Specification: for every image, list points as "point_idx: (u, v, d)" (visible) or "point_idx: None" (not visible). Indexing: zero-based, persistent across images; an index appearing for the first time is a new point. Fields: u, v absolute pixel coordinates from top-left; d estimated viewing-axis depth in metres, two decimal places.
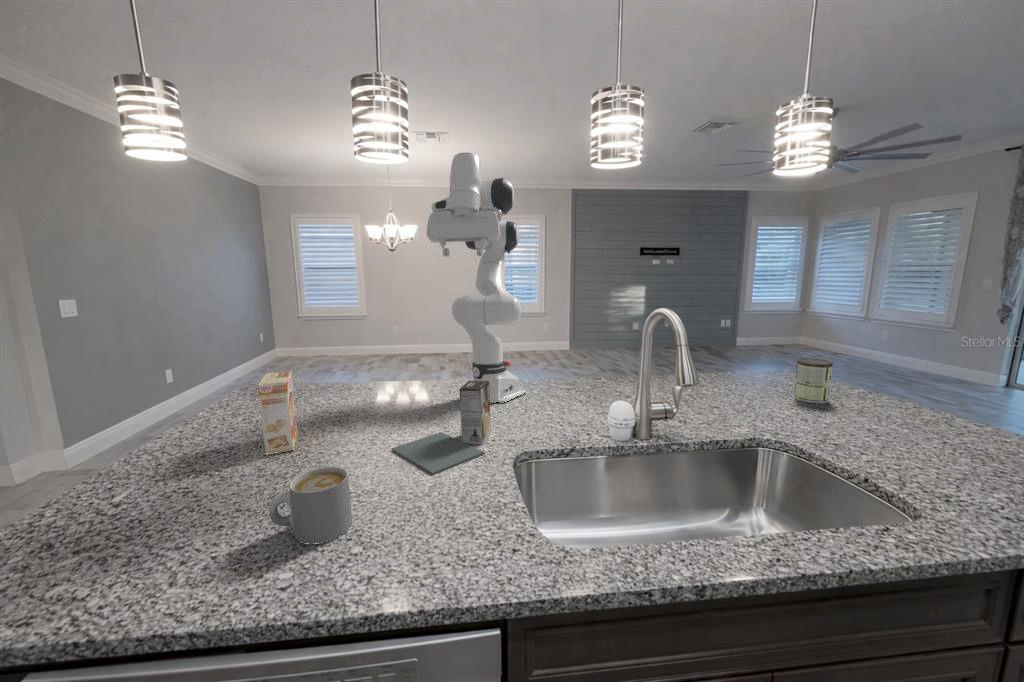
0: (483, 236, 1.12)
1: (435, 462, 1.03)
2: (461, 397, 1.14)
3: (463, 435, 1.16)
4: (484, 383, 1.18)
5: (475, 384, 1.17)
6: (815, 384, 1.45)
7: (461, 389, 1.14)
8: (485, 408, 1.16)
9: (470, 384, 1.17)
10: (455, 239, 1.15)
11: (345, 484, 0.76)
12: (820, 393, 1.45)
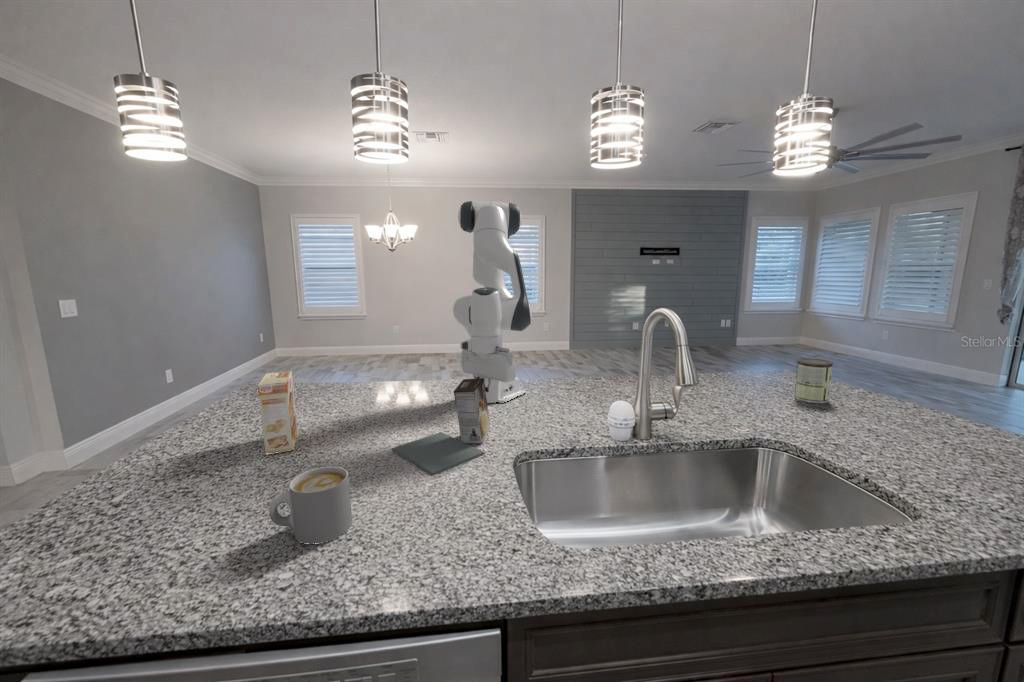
0: (497, 380, 1.15)
1: (435, 462, 1.03)
2: (457, 399, 1.12)
3: (462, 435, 1.16)
4: (478, 382, 1.16)
5: (469, 384, 1.15)
6: (815, 384, 1.45)
7: (455, 391, 1.12)
8: (481, 407, 1.15)
9: (464, 384, 1.15)
10: None
11: (345, 484, 0.76)
12: (820, 393, 1.45)
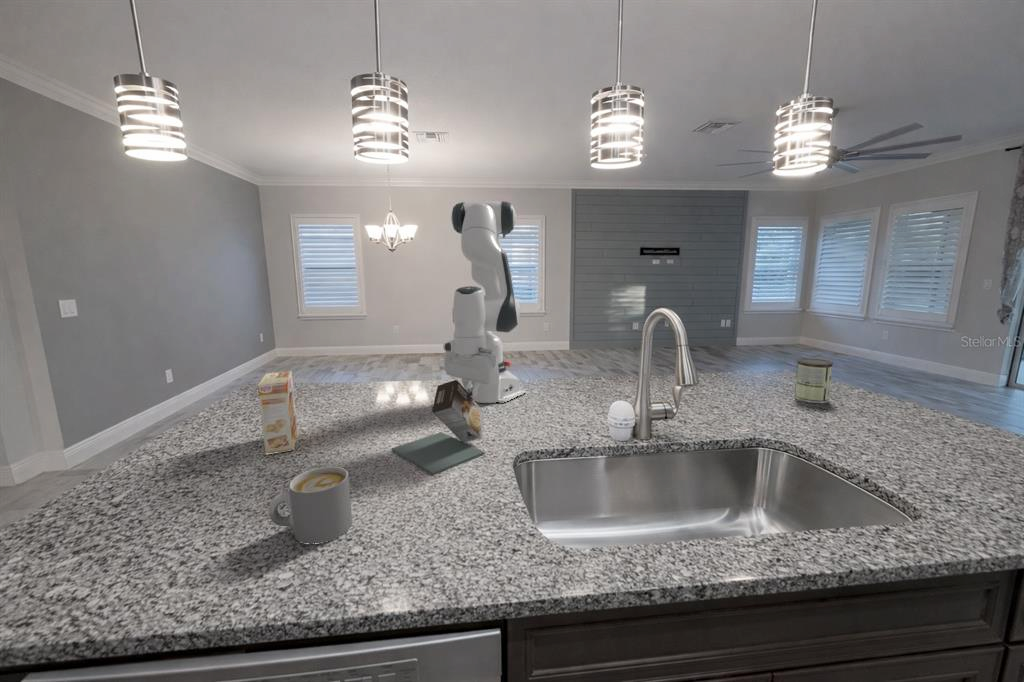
0: (480, 382, 1.10)
1: (435, 462, 1.03)
2: (439, 416, 1.08)
3: (460, 438, 1.15)
4: (453, 388, 1.09)
5: (445, 395, 1.09)
6: (815, 384, 1.45)
7: (434, 411, 1.07)
8: (466, 410, 1.11)
9: (440, 396, 1.09)
10: None
11: (345, 484, 0.76)
12: (820, 393, 1.45)
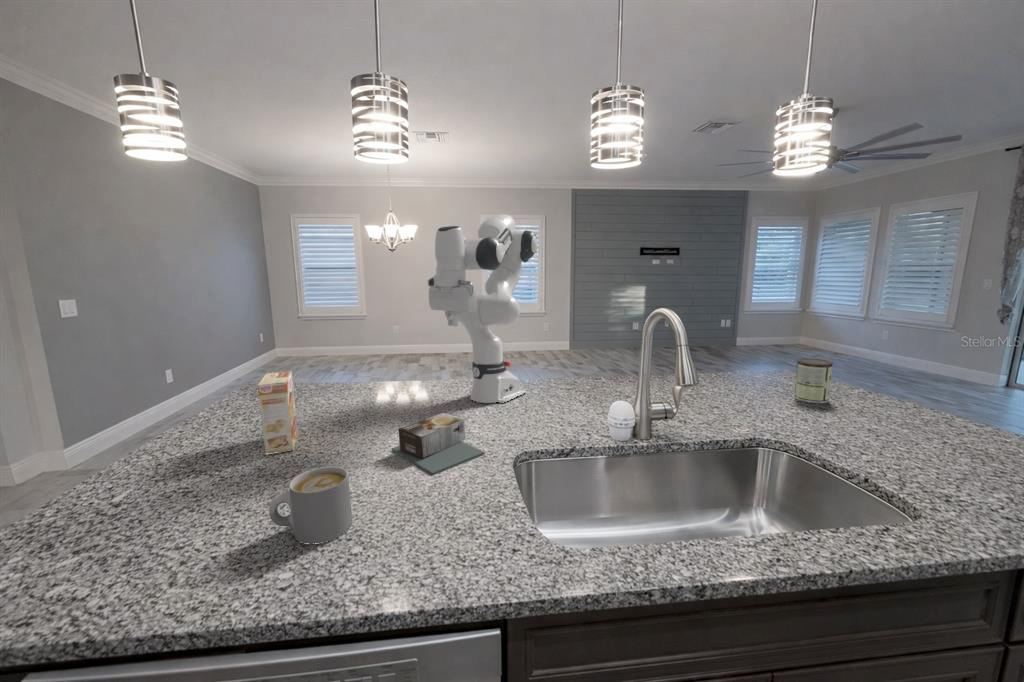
0: (460, 311, 1.22)
1: (435, 462, 1.03)
2: (429, 453, 1.07)
3: (459, 440, 1.15)
4: (405, 433, 1.07)
5: (409, 443, 1.07)
6: (815, 384, 1.45)
7: (422, 457, 1.05)
8: (431, 425, 1.11)
9: (410, 448, 1.07)
10: None
11: (345, 484, 0.76)
12: (820, 393, 1.45)
